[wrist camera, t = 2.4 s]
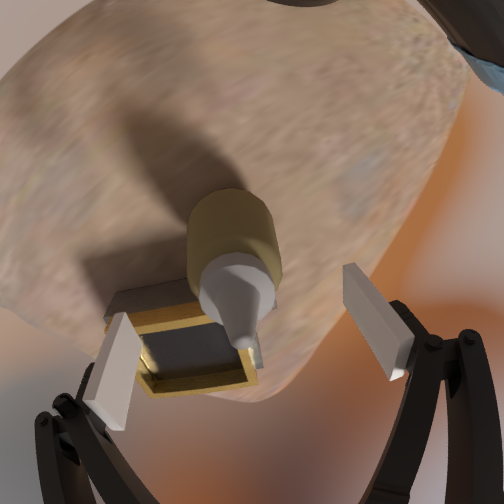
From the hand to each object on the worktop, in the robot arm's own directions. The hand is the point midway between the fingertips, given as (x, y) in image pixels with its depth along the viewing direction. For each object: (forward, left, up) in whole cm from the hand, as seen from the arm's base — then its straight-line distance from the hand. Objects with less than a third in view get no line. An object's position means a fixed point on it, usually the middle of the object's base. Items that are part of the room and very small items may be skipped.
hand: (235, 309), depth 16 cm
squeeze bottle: (0, 0, -15) cm, 15 cm away
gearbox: (+6, +12, -15) cm, 20 cm away
